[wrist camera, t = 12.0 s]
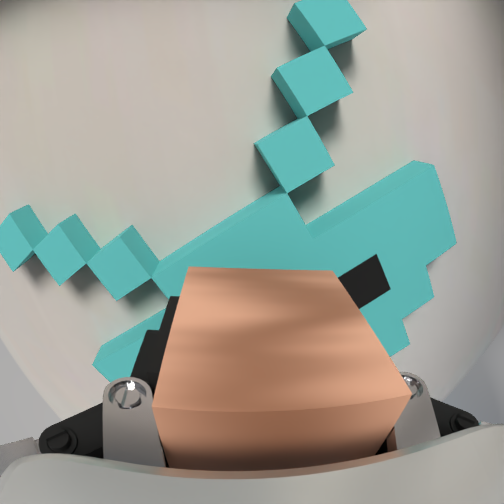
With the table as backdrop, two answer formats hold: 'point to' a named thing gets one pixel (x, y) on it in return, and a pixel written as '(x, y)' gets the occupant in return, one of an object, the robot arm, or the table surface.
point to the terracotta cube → (272, 374)
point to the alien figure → (276, 216)
